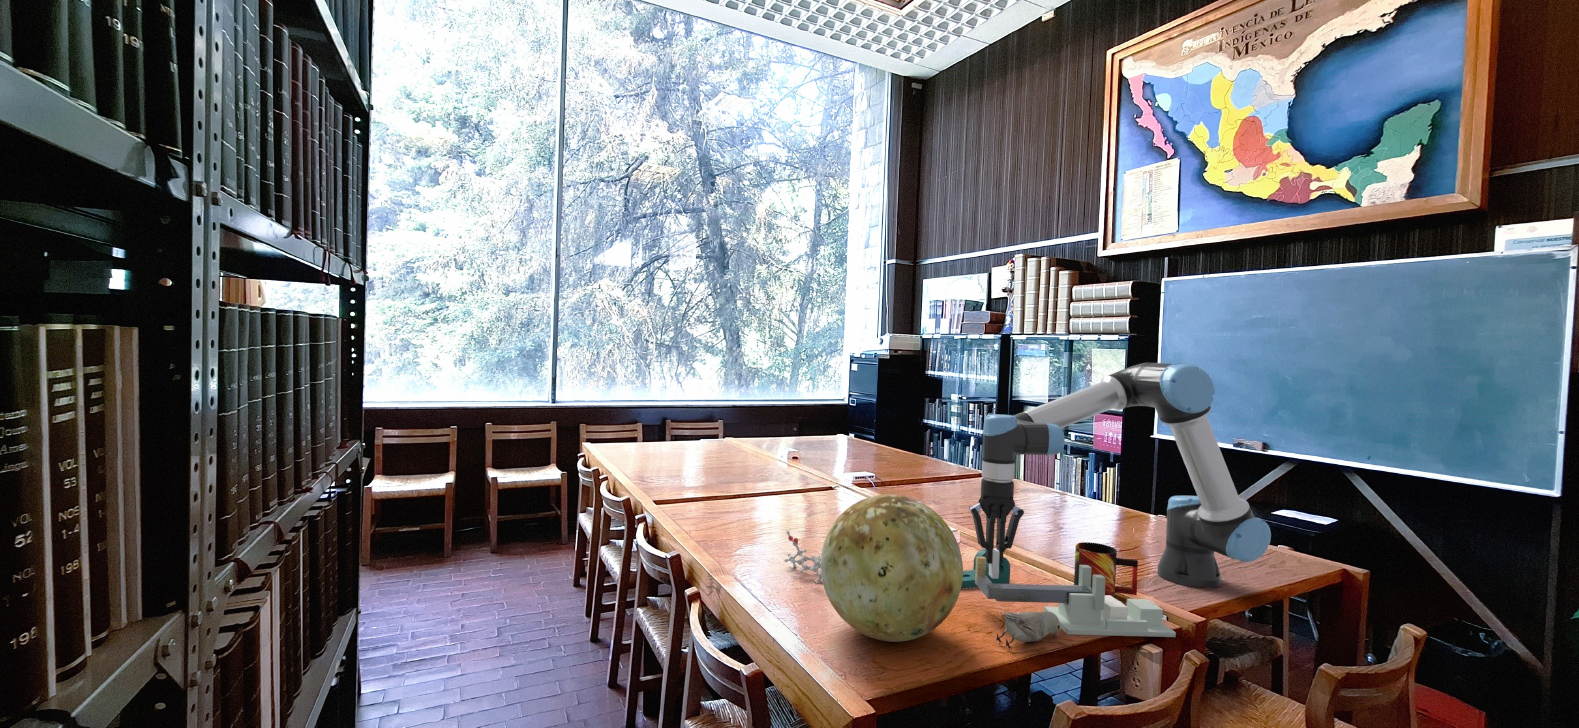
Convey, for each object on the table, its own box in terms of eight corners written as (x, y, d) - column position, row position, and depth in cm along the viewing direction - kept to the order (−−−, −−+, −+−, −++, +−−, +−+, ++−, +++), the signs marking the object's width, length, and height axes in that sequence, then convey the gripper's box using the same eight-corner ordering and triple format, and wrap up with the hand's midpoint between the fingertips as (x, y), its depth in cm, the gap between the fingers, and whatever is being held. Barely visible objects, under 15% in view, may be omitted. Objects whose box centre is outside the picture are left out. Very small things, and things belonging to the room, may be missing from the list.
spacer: (1093, 612, 155) (1109, 612, 155) (1109, 624, 148) (1126, 624, 148) (1094, 595, 155) (1110, 595, 155) (1110, 607, 148) (1127, 607, 148)
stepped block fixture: (1143, 613, 158) (1145, 563, 158) (1175, 636, 145) (1178, 583, 145) (1043, 610, 158) (1046, 560, 157) (1067, 634, 145) (1070, 580, 144)
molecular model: (845, 585, 171) (845, 548, 170) (810, 593, 167) (810, 555, 166) (811, 559, 188) (811, 525, 188) (779, 565, 184) (778, 531, 183)
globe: (862, 680, 122) (867, 519, 121) (796, 617, 149) (800, 485, 148) (990, 654, 134) (996, 508, 133) (907, 600, 161) (912, 478, 160)
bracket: (994, 576, 181) (995, 547, 181) (1009, 584, 175) (1010, 555, 175) (936, 581, 176) (937, 552, 175) (950, 590, 169) (951, 560, 169)
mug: (1138, 599, 167) (1140, 552, 166) (1089, 602, 164) (1091, 554, 164) (1112, 585, 176) (1114, 541, 176) (1065, 587, 174) (1067, 542, 173)
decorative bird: (1067, 642, 141) (1068, 607, 141) (1009, 654, 135) (1010, 618, 134) (1047, 631, 146) (1049, 598, 146) (991, 643, 139) (992, 608, 139)
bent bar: (1071, 587, 160) (1072, 558, 159) (1090, 603, 150) (1092, 573, 149) (974, 585, 159) (976, 556, 159) (987, 601, 149) (989, 570, 149)
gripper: (1018, 476, 162) (1014, 571, 162) (966, 475, 162) (962, 570, 162) (1030, 483, 154) (1026, 582, 155) (975, 481, 154) (971, 581, 155)
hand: (993, 576), depth 159 cm, fingers closed
